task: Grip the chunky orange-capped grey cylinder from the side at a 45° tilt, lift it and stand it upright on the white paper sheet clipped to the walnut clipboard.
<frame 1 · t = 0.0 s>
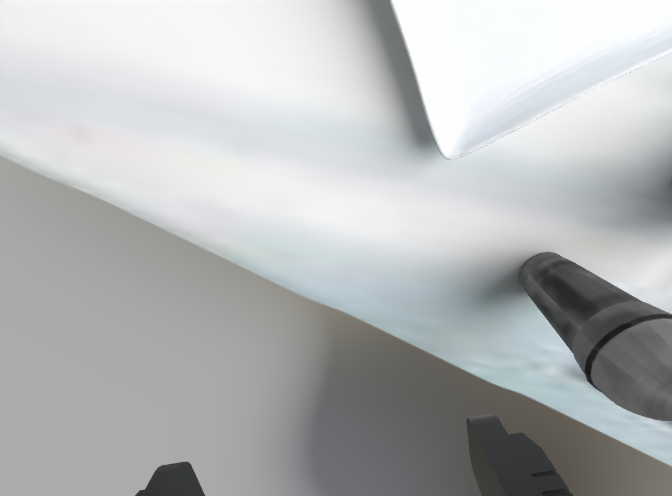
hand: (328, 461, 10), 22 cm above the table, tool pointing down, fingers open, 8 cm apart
beverage cup: (541, 271, 34), on the table
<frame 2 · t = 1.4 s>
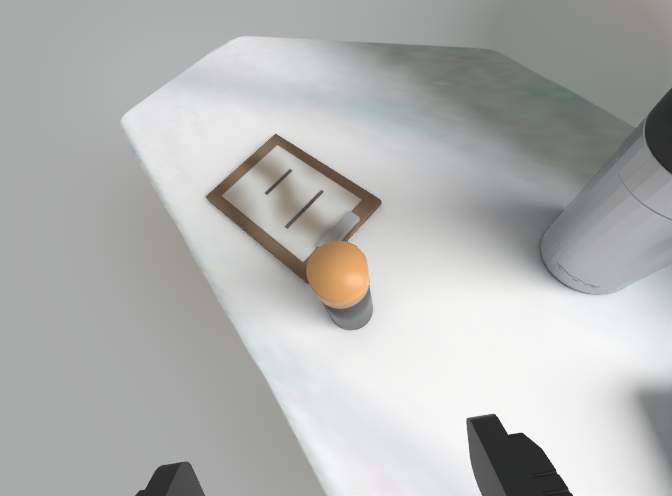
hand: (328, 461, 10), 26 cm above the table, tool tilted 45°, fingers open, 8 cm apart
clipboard: (290, 201, 45), on the table
orange-capped grey cylinder: (351, 308, 38), on the table
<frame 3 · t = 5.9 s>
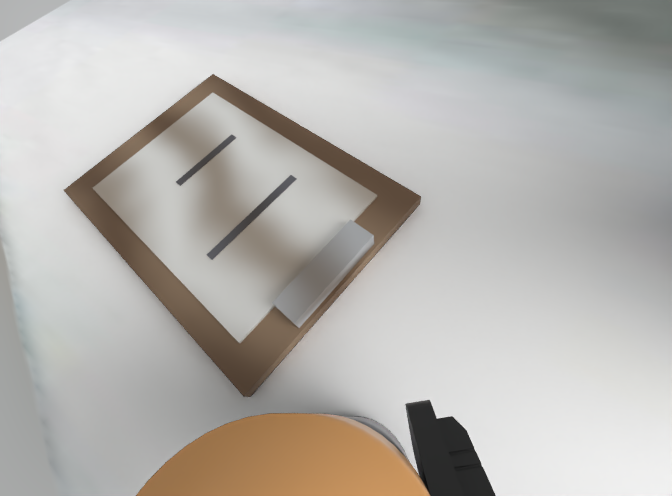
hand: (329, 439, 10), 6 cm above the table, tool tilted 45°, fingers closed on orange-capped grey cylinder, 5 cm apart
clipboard: (229, 200, 22), on the table
orange-capped grey cylinder: (355, 478, 14), on the table, touching gripper
when the fingers open (8 cm above the table, at t = 11.2 s): orange-capped grey cylinder drops 1 cm, resting on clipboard.
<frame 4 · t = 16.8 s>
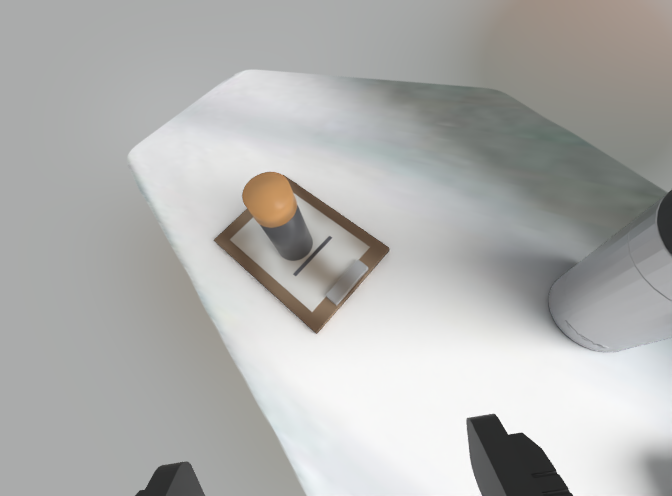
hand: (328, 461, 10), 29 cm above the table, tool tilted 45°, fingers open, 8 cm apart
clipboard: (298, 246, 46), on the table
orange-capped grey cylinder: (295, 244, 45), point 1 cm above the table, touching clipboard
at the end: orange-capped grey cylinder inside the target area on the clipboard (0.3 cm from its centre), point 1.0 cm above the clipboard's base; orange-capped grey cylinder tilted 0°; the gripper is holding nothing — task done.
